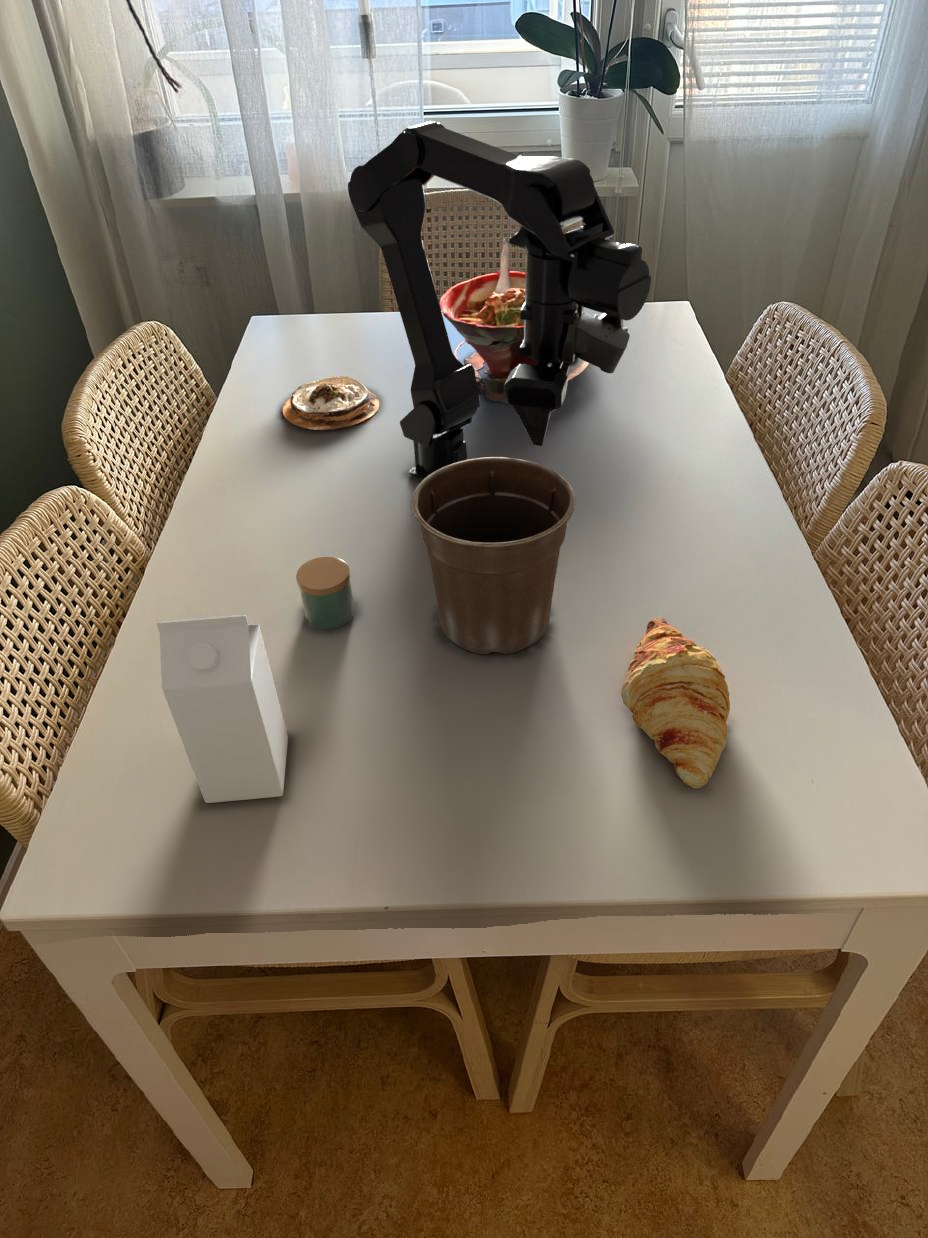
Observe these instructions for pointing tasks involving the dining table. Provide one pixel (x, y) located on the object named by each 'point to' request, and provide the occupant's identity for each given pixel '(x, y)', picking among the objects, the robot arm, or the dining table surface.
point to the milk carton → (225, 706)
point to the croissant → (679, 700)
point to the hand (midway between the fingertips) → (545, 425)
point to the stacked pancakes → (330, 404)
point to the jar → (326, 592)
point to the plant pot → (493, 548)
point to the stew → (493, 324)
